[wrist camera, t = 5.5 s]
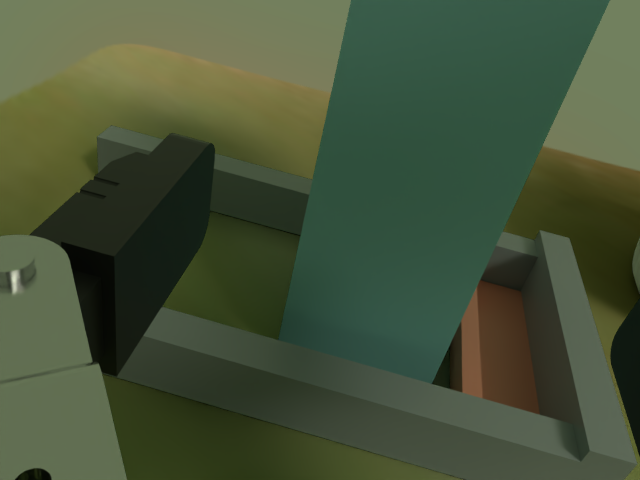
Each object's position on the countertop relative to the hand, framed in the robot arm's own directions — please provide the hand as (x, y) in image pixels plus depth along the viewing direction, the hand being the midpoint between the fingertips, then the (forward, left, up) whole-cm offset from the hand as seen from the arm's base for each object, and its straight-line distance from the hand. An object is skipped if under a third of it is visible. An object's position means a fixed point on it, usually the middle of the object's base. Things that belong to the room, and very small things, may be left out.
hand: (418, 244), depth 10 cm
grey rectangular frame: (-2, -7, -8) cm, 11 cm away
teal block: (-4, -5, -8) cm, 10 cm away
